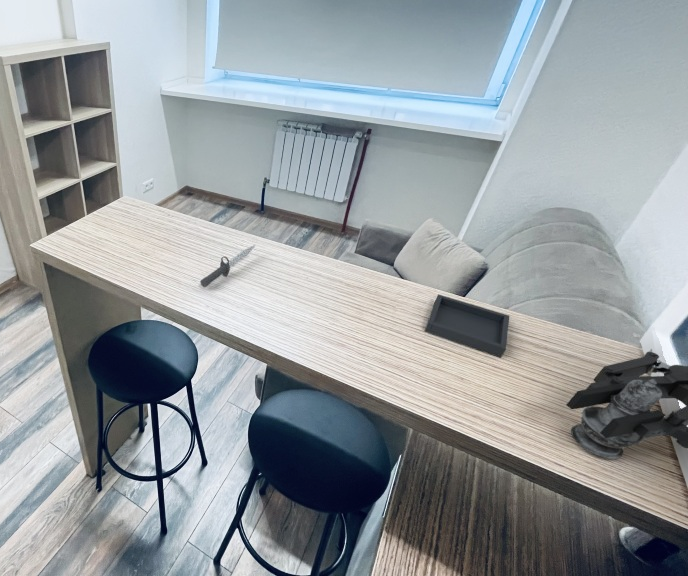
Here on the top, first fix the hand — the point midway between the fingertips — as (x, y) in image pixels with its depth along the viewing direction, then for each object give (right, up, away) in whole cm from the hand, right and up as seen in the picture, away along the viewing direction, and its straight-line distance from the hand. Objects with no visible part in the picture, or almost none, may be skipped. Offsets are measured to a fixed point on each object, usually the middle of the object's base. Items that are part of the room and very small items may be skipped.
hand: (591, 413), depth 50 cm
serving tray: (+2, +8, +25) cm, 26 cm away
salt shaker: (+5, -5, +5) cm, 9 cm away
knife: (-39, +19, +42) cm, 60 cm away
